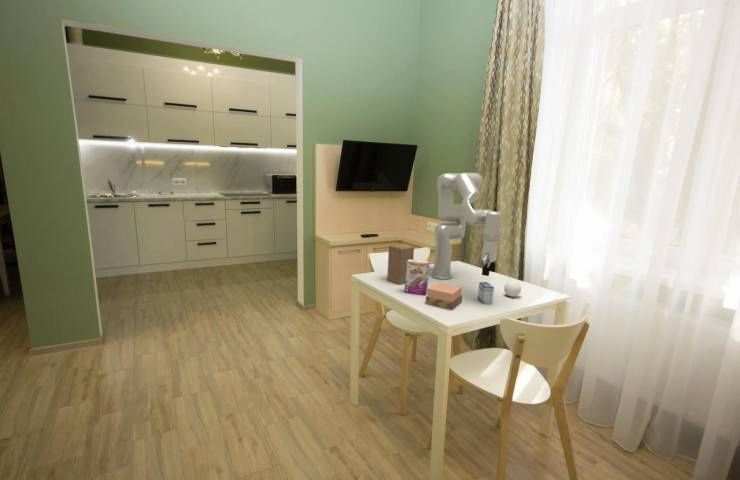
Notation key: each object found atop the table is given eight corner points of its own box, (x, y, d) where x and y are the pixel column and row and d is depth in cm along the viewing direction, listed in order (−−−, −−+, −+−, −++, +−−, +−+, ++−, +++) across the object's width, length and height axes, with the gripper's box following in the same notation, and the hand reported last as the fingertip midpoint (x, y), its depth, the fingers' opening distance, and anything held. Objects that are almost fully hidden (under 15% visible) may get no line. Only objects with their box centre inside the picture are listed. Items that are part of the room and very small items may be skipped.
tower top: (427, 296, 176) (427, 288, 175) (437, 290, 186) (438, 282, 185) (451, 302, 170) (452, 294, 169) (461, 295, 179) (461, 287, 179)
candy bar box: (404, 292, 191) (405, 261, 188) (406, 289, 196) (408, 259, 193) (426, 295, 188) (428, 263, 184) (427, 292, 192) (430, 261, 189)
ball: (520, 300, 187) (522, 284, 185) (503, 297, 189) (505, 282, 187) (519, 294, 194) (521, 280, 193) (502, 292, 197) (504, 278, 195)
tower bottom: (425, 304, 177) (426, 296, 176) (436, 297, 188) (436, 289, 187) (451, 311, 170) (452, 302, 169) (461, 303, 181) (462, 295, 180)
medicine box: (477, 298, 187) (479, 281, 185) (486, 298, 187) (487, 281, 186) (483, 304, 179) (485, 286, 177) (492, 304, 180) (494, 286, 178)
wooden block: (399, 285, 203) (401, 248, 199) (386, 280, 210) (388, 245, 207) (412, 281, 210) (414, 246, 206) (399, 277, 217) (401, 243, 213)
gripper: (488, 234, 186) (485, 268, 189) (477, 239, 172) (474, 275, 175) (504, 236, 182) (500, 271, 185) (494, 241, 168) (491, 278, 171)
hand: (488, 273), depth 180 cm, fingers open, 9 cm apart
